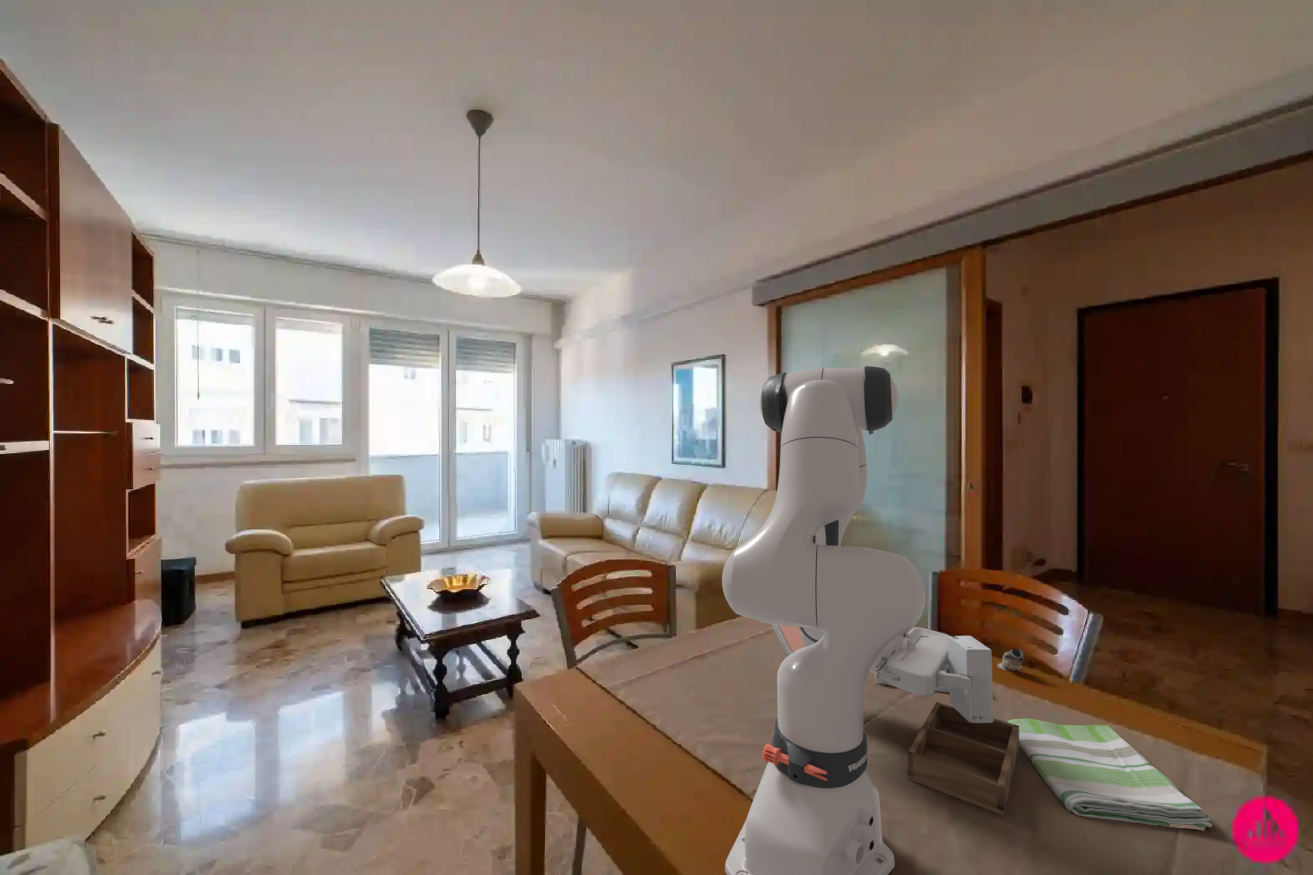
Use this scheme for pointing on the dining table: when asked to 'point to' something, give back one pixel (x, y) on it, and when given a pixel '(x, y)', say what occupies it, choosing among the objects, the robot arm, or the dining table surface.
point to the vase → (1011, 660)
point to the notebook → (789, 637)
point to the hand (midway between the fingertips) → (976, 673)
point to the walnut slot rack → (965, 758)
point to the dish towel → (1104, 775)
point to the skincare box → (977, 664)
